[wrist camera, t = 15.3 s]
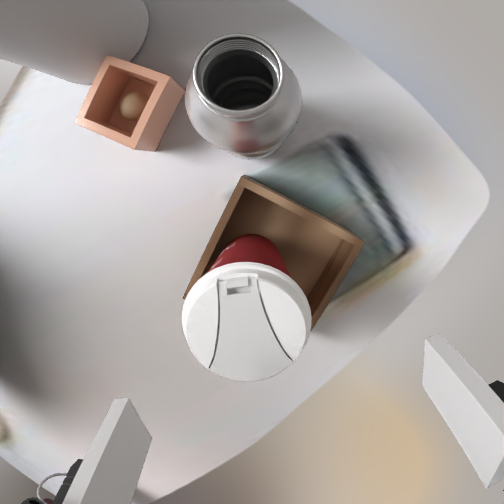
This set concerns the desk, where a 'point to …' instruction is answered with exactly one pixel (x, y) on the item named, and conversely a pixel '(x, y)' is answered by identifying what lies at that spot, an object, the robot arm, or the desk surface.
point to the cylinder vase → (71, 34)
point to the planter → (111, 94)
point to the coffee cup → (247, 313)
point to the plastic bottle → (242, 96)
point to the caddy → (286, 240)
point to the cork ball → (133, 105)
